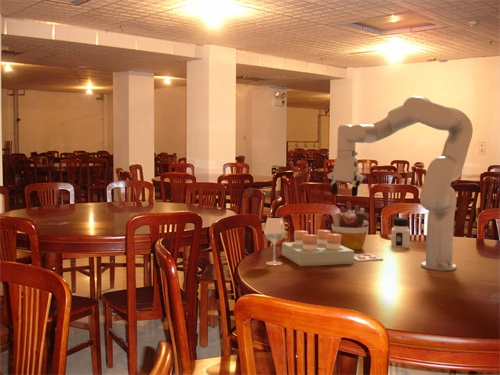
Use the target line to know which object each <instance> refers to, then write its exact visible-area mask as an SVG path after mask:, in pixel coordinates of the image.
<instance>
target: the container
mask: <svg viewBox="0 0 500 375" xmlns="http://www.w3.org/2000/svg"><path fill="white" fill-rule="evenodd" d="M390 236H391V238H390V239H391V240H390V241H391V242H390V245H391V247H392V248H401V249H402V248H403V249H404V248H406V249H409V248H410V245H411V239H410V238H411V231H410V229H409V219H408V218H405V217H394V219H393V227H391V235H390Z"/></svg>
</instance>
